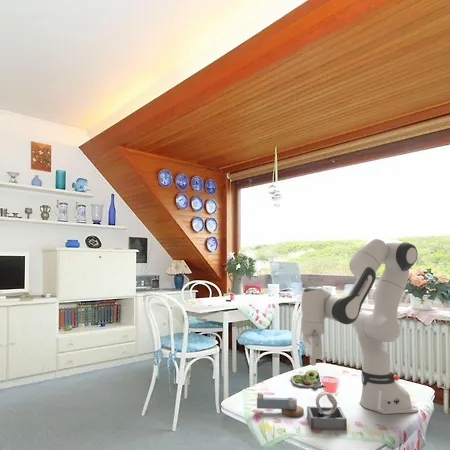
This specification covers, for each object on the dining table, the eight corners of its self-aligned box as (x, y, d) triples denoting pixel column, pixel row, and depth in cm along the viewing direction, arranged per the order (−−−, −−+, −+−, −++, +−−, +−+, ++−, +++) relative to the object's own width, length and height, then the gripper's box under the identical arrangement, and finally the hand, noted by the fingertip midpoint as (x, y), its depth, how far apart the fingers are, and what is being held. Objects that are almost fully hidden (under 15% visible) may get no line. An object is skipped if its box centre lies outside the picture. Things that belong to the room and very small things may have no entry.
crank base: (302, 408, 162) (302, 404, 162) (305, 417, 153) (304, 413, 153) (280, 408, 163) (280, 404, 163) (282, 417, 154) (282, 413, 154)
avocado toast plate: (332, 391, 183) (331, 381, 183) (294, 391, 184) (294, 381, 184) (323, 378, 202) (323, 369, 203) (289, 377, 203) (289, 368, 203)
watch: (340, 424, 145) (339, 394, 146) (320, 426, 143) (319, 396, 144) (333, 418, 150) (332, 389, 151) (314, 419, 149) (313, 390, 150)
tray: (340, 417, 153) (340, 407, 153) (346, 430, 142) (346, 419, 142) (307, 416, 154) (306, 406, 154) (311, 429, 143) (310, 418, 143)
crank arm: (296, 406, 160) (296, 392, 160) (297, 410, 156) (297, 395, 156) (257, 405, 161) (256, 391, 161) (257, 409, 157) (256, 394, 158)
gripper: (326, 334, 140) (326, 372, 139) (316, 324, 161) (316, 357, 159) (308, 333, 141) (308, 372, 139) (301, 323, 161) (301, 357, 160)
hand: (312, 364), depth 150 cm, fingers closed
